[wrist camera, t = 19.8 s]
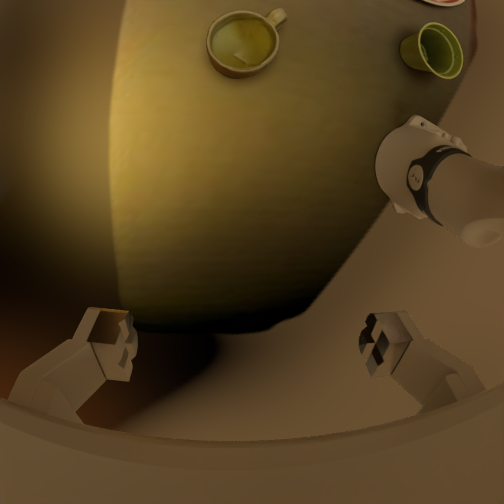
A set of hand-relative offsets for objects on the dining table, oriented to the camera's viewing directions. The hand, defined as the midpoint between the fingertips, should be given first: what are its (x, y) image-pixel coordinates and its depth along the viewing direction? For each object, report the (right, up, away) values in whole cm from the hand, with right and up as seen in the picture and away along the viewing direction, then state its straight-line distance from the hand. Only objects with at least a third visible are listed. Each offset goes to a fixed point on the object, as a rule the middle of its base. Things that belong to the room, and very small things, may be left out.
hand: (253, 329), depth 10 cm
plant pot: (+28, +37, +27) cm, 53 cm away
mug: (-1, +33, +26) cm, 42 cm away
